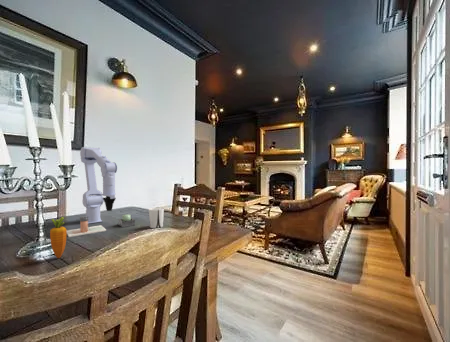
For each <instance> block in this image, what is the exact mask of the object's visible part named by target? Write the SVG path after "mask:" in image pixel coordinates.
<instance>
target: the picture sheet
mask: <svg viewBox="0 0 450 342" xmlns="http://www.w3.org/2000/svg"><path fill="white" fill-rule="evenodd" d="M66 230H67V237H68V238H72V237H78V236H83V235H90V234H95V233H101V232H106V231H107V229H106V228H105V227H104V226H103V225H101V224H100V225H92V226H88V232H83V233H82V232H80V228H74V229H66Z"/></svg>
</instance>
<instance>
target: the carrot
mask: <svg viewBox="0 0 450 342" xmlns="http://www.w3.org/2000/svg"><path fill="white" fill-rule="evenodd" d="M64 219H65V218H64V217H63V216H62V217H60V218H59V219H54V218H52V219H51V221H52V223H53V225H54V226H55V227H53V228H50V230H49V238H50V239H49V240H50V245H51V249H52V251H53V252H52V253H54V255H55V257H56V258H57V259H60V258H61V257H62V255H63V254H64V251H65V249H66V246H67V245H66V244H67V237H68V235H67V230H68V229H67V228H66V227H64V224H65V222H64Z"/></svg>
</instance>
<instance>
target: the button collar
mask: <svg viewBox="0 0 450 342" xmlns="http://www.w3.org/2000/svg"><path fill="white" fill-rule="evenodd" d="M135 221H136V220H135V219H134V218H132V217H131V220H129V221H122V218H120V219H119V218H118V219H117V222H118V223H117V226H119V227H121V228H126V227H132V226H135Z"/></svg>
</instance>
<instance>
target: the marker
mask: <svg viewBox="0 0 450 342" xmlns="http://www.w3.org/2000/svg"><path fill="white" fill-rule="evenodd" d="M79 221H80V224H79V227H80V228H79V229H80V232H82V233H83V232H88V227H89V224H88V217H86V216H81V217H79Z"/></svg>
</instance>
